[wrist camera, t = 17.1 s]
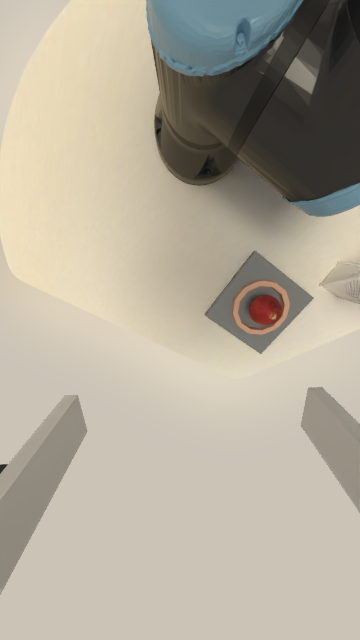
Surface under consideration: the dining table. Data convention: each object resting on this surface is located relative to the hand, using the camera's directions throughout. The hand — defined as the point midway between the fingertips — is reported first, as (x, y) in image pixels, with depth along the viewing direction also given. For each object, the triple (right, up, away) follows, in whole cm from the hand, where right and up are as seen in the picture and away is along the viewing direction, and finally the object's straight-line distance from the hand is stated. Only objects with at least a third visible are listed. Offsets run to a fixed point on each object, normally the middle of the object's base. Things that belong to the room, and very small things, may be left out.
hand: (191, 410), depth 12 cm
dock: (+16, +8, +31) cm, 36 cm away
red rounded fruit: (+16, +8, +30) cm, 35 cm away
